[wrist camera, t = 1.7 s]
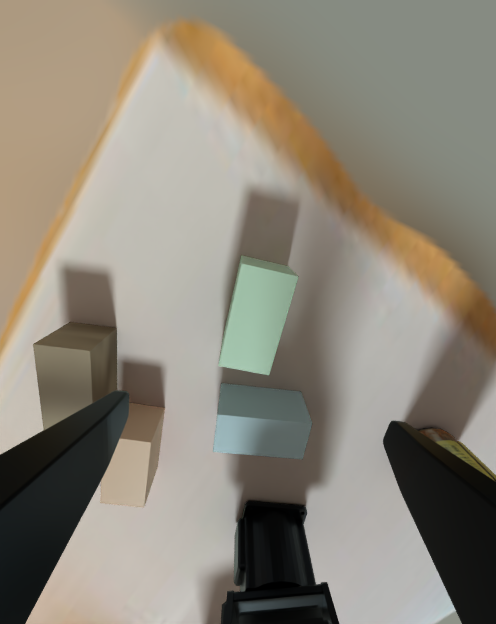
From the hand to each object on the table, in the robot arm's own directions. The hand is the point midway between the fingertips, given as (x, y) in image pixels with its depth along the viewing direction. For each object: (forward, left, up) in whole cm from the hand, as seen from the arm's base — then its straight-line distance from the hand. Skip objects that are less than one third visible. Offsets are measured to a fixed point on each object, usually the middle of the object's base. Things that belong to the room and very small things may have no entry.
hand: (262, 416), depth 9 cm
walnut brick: (+12, +7, -12) cm, 18 cm away
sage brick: (0, 0, -12) cm, 12 cm away
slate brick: (-2, +9, -12) cm, 15 cm away
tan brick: (+8, +14, -12) cm, 20 cm away
